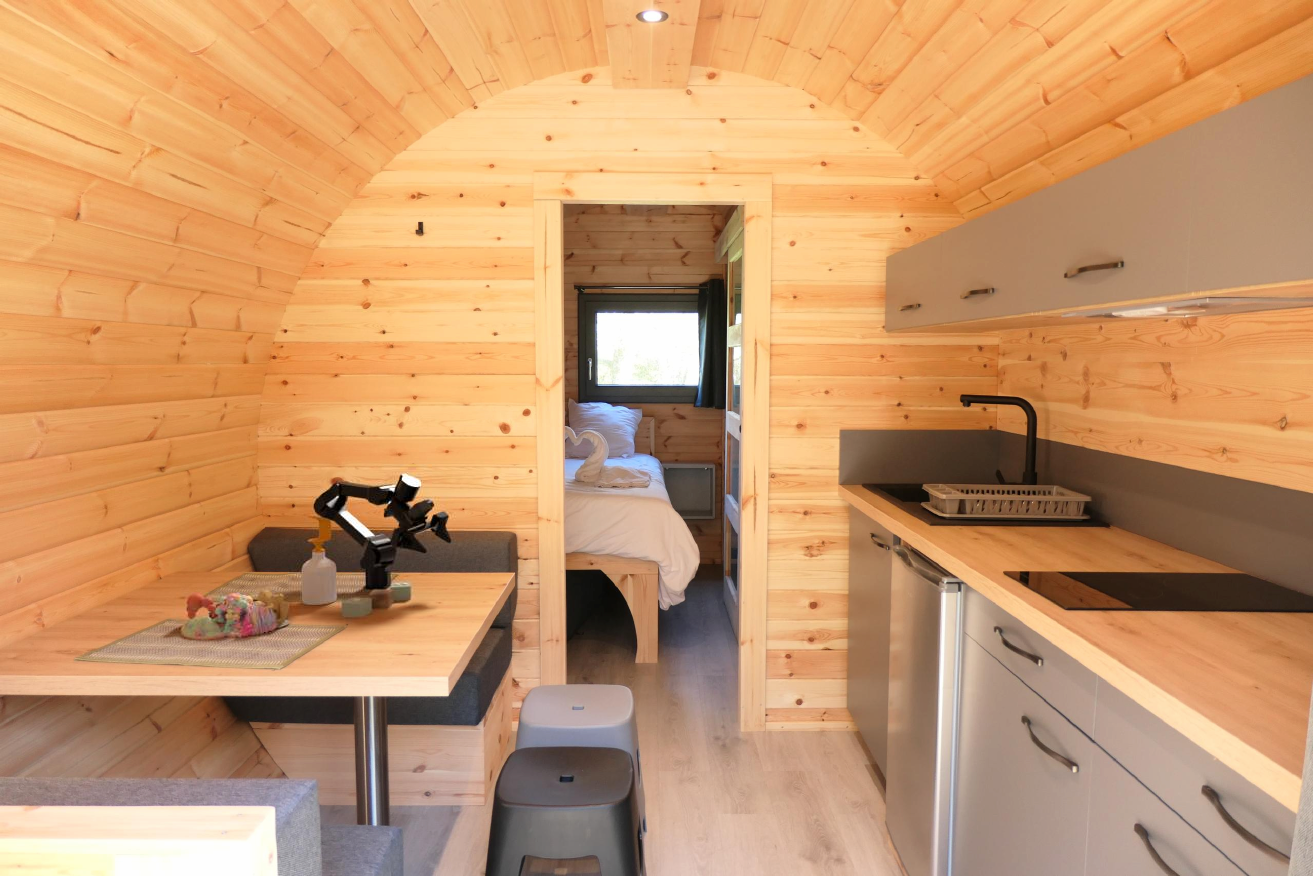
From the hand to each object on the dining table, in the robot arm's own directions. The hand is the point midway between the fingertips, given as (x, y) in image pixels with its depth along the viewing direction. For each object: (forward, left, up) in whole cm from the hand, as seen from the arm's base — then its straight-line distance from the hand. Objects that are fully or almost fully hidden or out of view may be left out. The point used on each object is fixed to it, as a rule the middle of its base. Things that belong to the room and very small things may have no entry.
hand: (438, 547), depth 242 cm
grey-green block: (-16, -19, -15) cm, 29 cm away
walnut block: (-13, -10, -15) cm, 22 cm away
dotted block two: (-11, -1, -15) cm, 19 cm away
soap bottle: (-32, -8, -15) cm, 36 cm away
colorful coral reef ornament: (-41, -33, -15) cm, 55 cm away
